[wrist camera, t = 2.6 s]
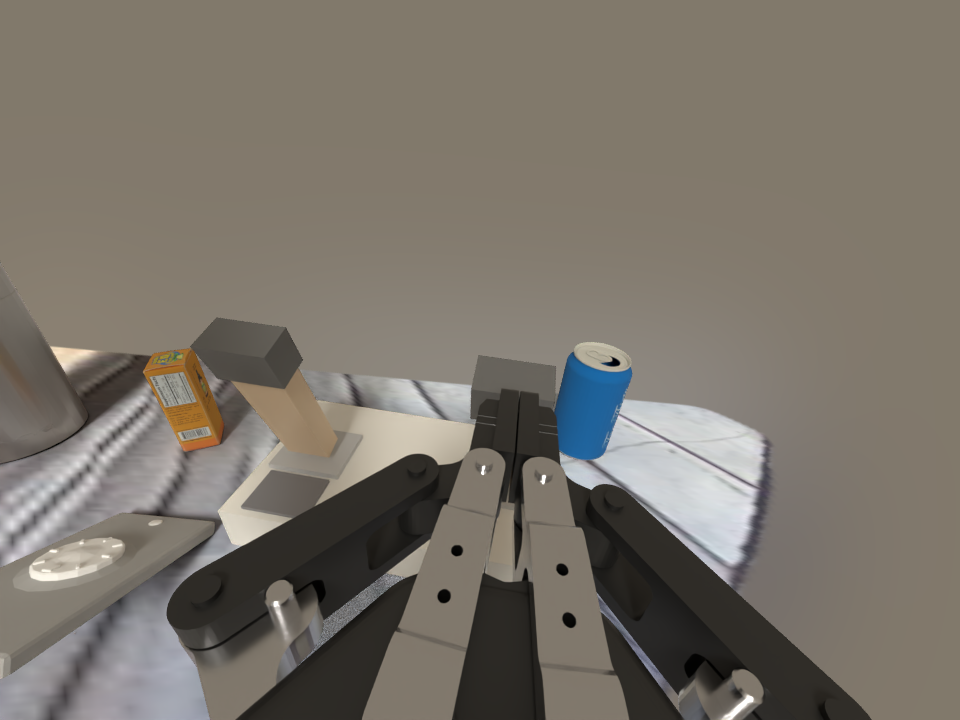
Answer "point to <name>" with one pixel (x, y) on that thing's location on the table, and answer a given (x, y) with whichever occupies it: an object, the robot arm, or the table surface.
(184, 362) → the supplement box
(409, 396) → the table surface
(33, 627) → the light switch
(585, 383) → the beverage can
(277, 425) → the lever charcoal
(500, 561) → the switch unit
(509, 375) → the tan lever
